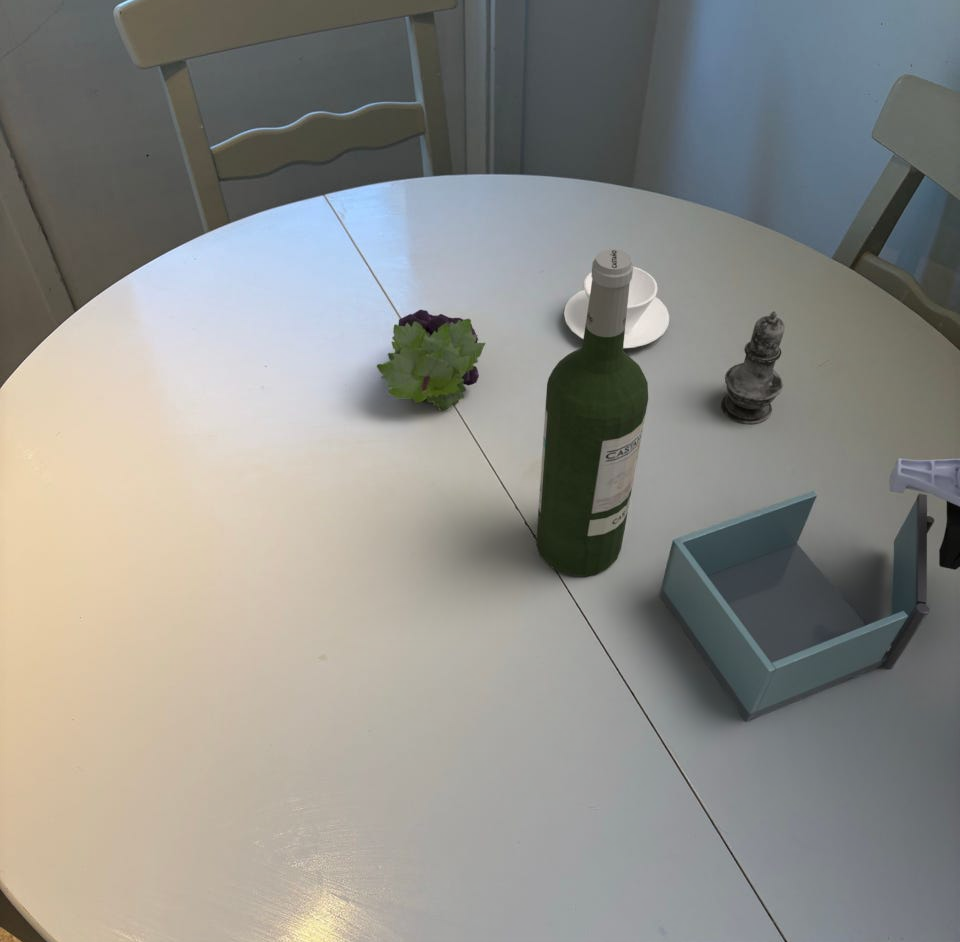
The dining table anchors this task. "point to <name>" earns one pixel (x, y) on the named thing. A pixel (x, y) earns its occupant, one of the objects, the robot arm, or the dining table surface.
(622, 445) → the wine bottle
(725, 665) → the light blue open box
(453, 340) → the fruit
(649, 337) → the teacup
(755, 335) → the grey chess piece
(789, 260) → the dining table surface
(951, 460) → the robot arm
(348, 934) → the dining table surface
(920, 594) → the blue flat panel
